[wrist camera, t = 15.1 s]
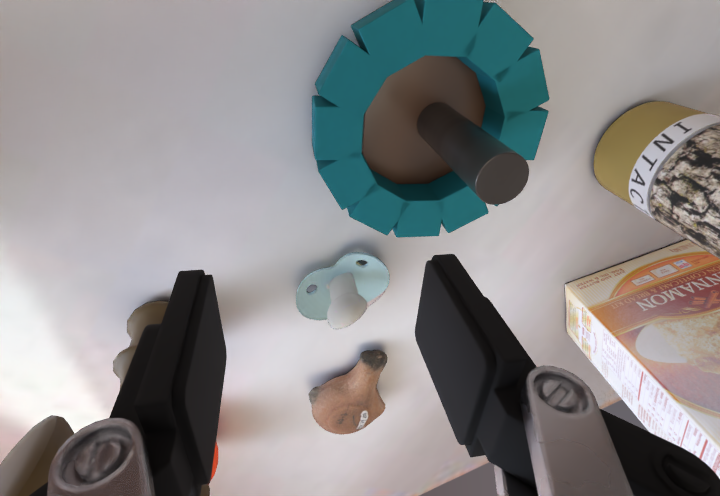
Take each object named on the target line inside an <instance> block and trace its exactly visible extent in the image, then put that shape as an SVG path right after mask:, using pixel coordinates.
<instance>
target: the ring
mask: <svg viewBox="0 0 720 496" xmlns="http://www.w3.org/2000/svg"><path fill="white" fill-rule="evenodd" d="M351 28H352V30H353V32H354V34H355V37H356V39H357V41H358V43H359V46H360V47H359V46H357V45H356V44H354V43H353V42H352V41H350V40H349V39H347V38H346V37H345V36H343V35H342V36H341V37H340V39H339V41H338V43H337V45H336V46H335V48H334V50H333V52H332V54H331V55H330V57H329V59H328V61H327V63H326V65H325V66H324V68H323V70H322V72H321V74H320V75H319V77H318V79H317V81H316V83H315V85H316V88H317V91H318V94H319V95H321V96H312V145H313V151H314V156H315V160H316V161H317V166H318V172H319V173H320V175H321V176H322V178H323V180H324V181H325V183H326V185H327V186H328V188H329V189H330V191H331V193H332V194H333V196H334V198H335V199H336V201H337V203H338V204H339V206H340V207H341V209H342V210H343V209H345V208H347V210H348V213H349V216H350V217H351V218H353V219H355V220H357V221H359V222H361V223H363V224H365V225H367V226H369V227H371V228H373V229H375V230H377V231H379V232H381V233H383V234H385V235H388V234H389V232H390V231H391V230H392V229H393V231H394V233H395V235H396V237H421V236H439V233H440V227H441V223H442V225H443V226H444V228H445V229H446V231H447V232H448V233H450V232H452V231H454V230H456V229H458V228H460V227H462V226H464V225H466V224H468V223H470V222H472V221H474V220H476V219H478V218H480V217H482V216H484V215H486V214H488V209H487V206H486V203H485V202H483V201H482V200H481V199H480V198H479V197H478V196H477V195H476V194H475V193H474V192H473V191H472V190H471V189H470V188H469V187H468V185H467V184H466V183H465V182H464V181H463V180H462V179H461V178H460V177H459V176H458V175H457V174H456V173H455V172H454V171H452V172H450V173H448V174H446V175H444V176H442V177H440V178H438V179H436V180H434V181H433V182H431V183H429V184H396V183H394V182H392V181H391V180H389V179H387V178H385V177H384V176H382V175H380V174H378V173H377V172H375V171H373V170H371V169H370V167H369V165H368V163H367V161H366V160H365V158H364V156H363V154H362V140H363V123H364V114H365V112H366V111H367V109H368V107H369V106H370V104H371V103H372V101H373V99H374V98H375V96H376V95H377V93H378V91H379V90H380V88H381V86H382V85H383V83H384V82H385V80H386V78H387V77H389V76H390V75H392V74H394V73H396V72H397V71H399V70H401V69H403V68H404V67H406V66H408V65H410V64H411V63H413V62H415V61H417V60H418V59H420V58H422V57H424V56H425V55H426V56H449V57H457V58H458V59H459V60H461V61H462V62H463V63H464V64H465V65H467V66H468V67H469V68H470V69H472V70H473V71H474V72H475V73H476V75H477V78H478V82H479V85H480V88H481V92H482V95H483V98H484V102H485V105H486V108H485V112H484V117H483V122H482V126H481V128H482V129H483V130H485V131H486V132H488V133H489V134H490V135H492V136H493V137H495V138H496V139H498V140H499V141H501V142H502V143H503V144H505V145H506V146H508V147H509V148H511V149H512V150H514V151H515V152H516V153H518V154H519V155H521V156H522V157H523V158H524V159H525V160H534V158H535V155H536V152H537V149H538V145H539V142H540V139H541V135H542V132H543V129H544V125H545V122H546V119H547V115H548V112H549V111H547V110H545V109H543V108H541V107H538V106H539V105H541V104H542V103H544V102H546V101H548V100H549V95H548V90H547V85H546V80H545V75H544V70H543V65H542V60H541V55H540V50H539V49H536V48H532V47H528V46H529V45H530V43H531V42H532V41H533V37H532V36H530V35H529V34H528V33H527V32H526V31H525V30H524V29H523V28H522V27H521V26H520V25H519V24H518V23H517V22H515V21H514V20H513V19H512V18H511V17H510V16H509V15H508V14H507V13H506V12H505V11H504V10H503V9H502V8H500V7H499V6H498V5H497V4H496V3H489V2H483V0H393V1H391V2H389V3H388V4H386V5H384V6H383V7H381V8H379V9H378V10H376V11H374V12H372V13H371V14H369V15H367V16H366V17H364V18H362V19H361V20H359V21H357V22H356V23H354V24H352V25H351ZM498 205H499V204H498ZM498 205H495V206H498Z"/></svg>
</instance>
